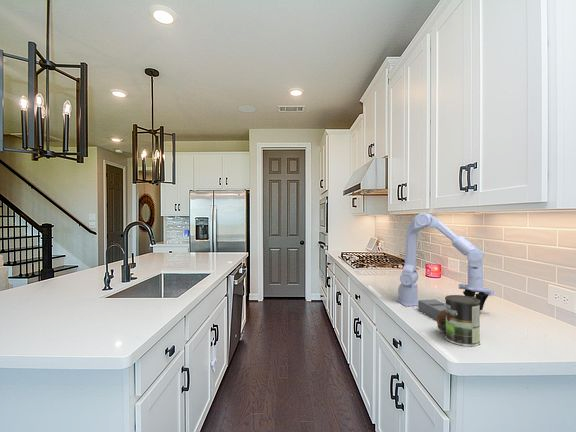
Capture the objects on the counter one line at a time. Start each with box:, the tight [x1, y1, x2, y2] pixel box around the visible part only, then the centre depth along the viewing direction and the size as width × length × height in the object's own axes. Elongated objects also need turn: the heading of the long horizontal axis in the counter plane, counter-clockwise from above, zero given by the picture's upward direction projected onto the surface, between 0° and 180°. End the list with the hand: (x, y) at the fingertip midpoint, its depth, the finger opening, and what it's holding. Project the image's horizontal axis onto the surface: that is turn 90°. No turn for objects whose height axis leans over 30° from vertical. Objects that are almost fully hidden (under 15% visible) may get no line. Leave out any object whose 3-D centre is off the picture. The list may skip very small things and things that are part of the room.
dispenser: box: [417, 298, 446, 321], centre depth 133 cm, size 9×16×4 cm, turn 6°
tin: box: [436, 309, 446, 334], centre depth 115 cm, size 15×3×8 cm, turn 105°
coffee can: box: [444, 294, 481, 348], centre depth 107 cm, size 10×10×14 cm
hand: (475, 308), depth 135 cm, fingers open, 3 cm apart
